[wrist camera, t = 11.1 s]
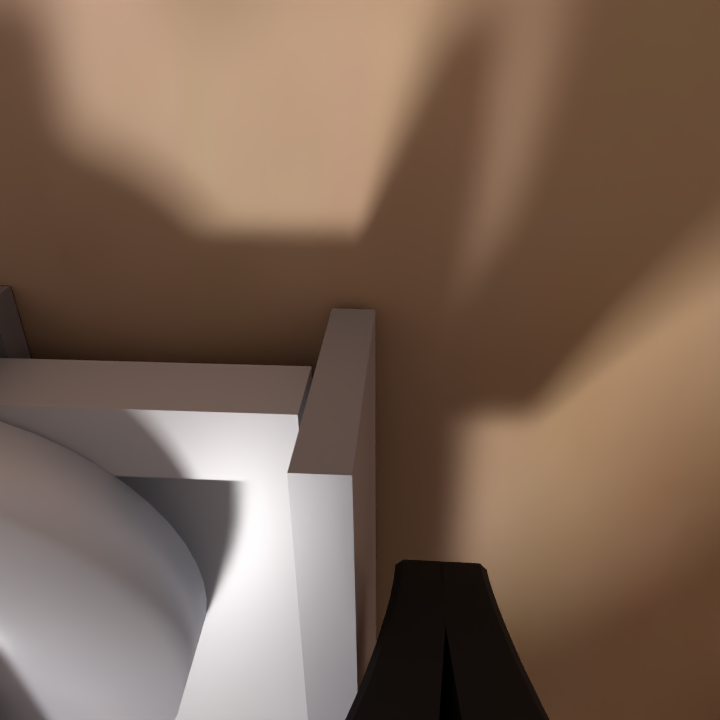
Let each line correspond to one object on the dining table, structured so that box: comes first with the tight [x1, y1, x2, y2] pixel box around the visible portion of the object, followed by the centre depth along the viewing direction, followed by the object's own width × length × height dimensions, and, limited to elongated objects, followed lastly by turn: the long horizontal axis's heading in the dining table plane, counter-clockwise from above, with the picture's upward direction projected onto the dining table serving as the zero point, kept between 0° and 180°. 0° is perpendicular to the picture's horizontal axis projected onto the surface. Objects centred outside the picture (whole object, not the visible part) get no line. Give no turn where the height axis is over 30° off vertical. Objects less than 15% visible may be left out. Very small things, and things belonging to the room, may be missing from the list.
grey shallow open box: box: [0, 308, 376, 720], centre depth 13 cm, size 14×13×4 cm
